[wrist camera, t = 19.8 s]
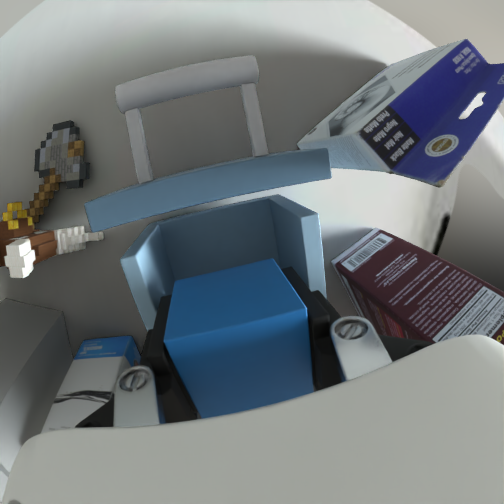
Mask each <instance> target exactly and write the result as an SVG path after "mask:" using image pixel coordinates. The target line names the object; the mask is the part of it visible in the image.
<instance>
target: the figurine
mask: <svg viewBox="0 0 504 504" xmlns="http://www.w3.org/2000/svg"><path fill="white" fill-rule="evenodd" d="M78 137H79V128H78V127H74V122H73V121H66V122H62V123H58V124H54V125H53V131H52V132H50V133H47V138H46V140H45V141H41V149H37V150H35V168H34V171H36V172H39V178H44V184H43V185H39V193H34V201H29V204H30V209H25V210H22V202H15V203H8V204H7V212H5V213H2V215H3V221H1V222H0V267H2V266H6V267H7V269H9V271H10V277H13V278H25V277H27V276H29V273H31V271H32V270H34V268H33V265H35V264H37V263H39V262H41V261H43V260H46V259H48V258H50V257H53V256H55V255H60V254H62V253H71V252H73V251H78V250H83V249H85V248H86V243H85V242H86V241H98V240H103V239H104V232H95V233H92V232H85V230H84V226H74V227H68V228H62V229H56V230H42V231H40V229H35V225H34V223H36V222H39V215H42V214H44V211H43V207H48V199H53V198H54V193H53V191H57V190H59V183H60V182H67V189H73V188H82V187H83V180H84V179H89V164H90V163H83V155H84V141H82V140H79V141H78ZM12 211H17V218H16V219H13V213H12Z"/></svg>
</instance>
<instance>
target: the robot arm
mask: <svg viewBox="0 0 504 504" xmlns="http://www.w3.org/2000/svg"><path fill="white" fill-rule="evenodd" d="M281 271H282V272H283V274H284V275H285V277H286V278H287V280H288V281H289V283H290V284H291V285H292V287H293V288H294V290H295V291H296V293H297V294H298V296H299V297H300V299H301V300H302V302H303V303H304V305H305V306H306V308H307V315H308V326H309V338H310V350H311V362H312V376H313V385H314V386H315V388H316V390H317V391H316V392H313V393H310V394H307V395H303V396H300V397H297V398H293V399H290V400H286V401H283V402H279V403H275V404H271V405H267V406H263V407H259V408H255V409H251V410H246V411H242V412H237V413H232V414H227V415H221V416H216V417H210V418H204V419H197V412H198V410H197V409H196V407H195V405H194V403H193V401H192V399H191V397H190V395H189V393H188V392H187V390H186V388H185V386H184V384H183V382H182V380H181V378H180V376H179V373H178V371H177V369H176V367H175V365H174V363H173V361H172V359H171V357H170V355H169V352H168V350H167V348H166V346H165V343H164V336H165V330H166V324H167V319H168V313H169V308H170V303H171V298H172V294H171V295H167V296H162V297H161V299H160V303H159V307H158V310H157V314H156V318H155V322H154V326H153V329H150V330H148V332H147V336H146V340H145V344H144V348H143V352H142V356H141V360H140V364H139V365H137V366H133V367H130V368H128V369H126V370H124V371H123V372H122V373H121V374H120V375H119V376H118V377H117V379H116V382H115V393H114V397H113V398H112V399H111V400H109V401H108V402H107V403H105V404H104V405H103V406H101V407H100V408H99V409H97V410H96V411H94V412H93V413H92V414H90V415H89V416H88V417H86V418H85V419H83V420H82V421H81V422H79V423H78V424H77V425H76V426H75V428H65V429H57V430H51V431H47V432H44V433H41V434H38V435H36V436H33V437H32V438H30V439H28V440H27V441H26V442H25V443H24V444H23V446H22V447H21V449H20V451H19V453H18V455H17V457H16V459H15V461H14V463H13V466H12V469H11V471H10V474H9V477H8V480H7V484H6V487H5V491H4V494H3V499H2V503H1V504H504V345H502V344H501V343H499V342H498V341H496V340H494V339H492V338H490V337H487V336H484V335H465V336H459V337H454V338H450V339H447V340H444V341H440V342H438V343H435V344H433V343H431V342H428V341H422V340H414V339H407V338H400V337H393V336H386V335H379V334H377V333H376V331H375V329H374V327H373V326H372V324H371V323H370V322H369V321H368V320H367V319H365V318H363V317H359V316H346V317H343V318H342V317H341V316H340V315H339V314H338V312H337V311H336V310H335V309H334V308H333V306H332V305H331V304H330V303H329V302H328V300H327V299H326V298H325V297H324V296H323V294H322V293H321V292H320V291H319V290H316V291H312V292H311V290H310V289H309V288H308V286H307V285H306V284H305V283H304V281H303V280H302V279H301V278H300V276H299V275H298V274H297V272H296V271H295V270H294V269H293V267H292V266H291V267H287V268H283V269H281Z"/></svg>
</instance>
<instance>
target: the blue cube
mask: <svg viewBox="0 0 504 504" xmlns="http://www.w3.org/2000/svg"><path fill="white" fill-rule="evenodd" d="M164 343H165V346H166V348H167V350H168V352H169V355H170V357H171V359H172V361H173V363H174V365H175V367H176V369H177V371H178V373H179V376H180V378H181V380H182V382H183V384H184V386H185V388H186V390H187V392H188V393H189V395H190V397H191V399H192V401H193V403H194V405H195V407H196V409H197V410H198V412H199V414H200V416H201V418H202V419H204V418H210V417H216V416H221V415H227V414H232V413H237V412H242V411H246V410H251V409H255V408H259V407H263V406H267V405H271V404H275V403H279V402H283V401H286V400H290V399H293V398H297V397H300V396H303V395H307V394H310V393H313V392H314V388H313V376H312V362H311V350H310V338H309V326H308V315H307V308H306V306H305V305H304V303H303V302H302V300H301V299H300V297H299V296H298V294H297V293H296V291H295V290H294V288H293V287H292V285H291V284H290V283H289V281H288V280H287V278H286V277H285V275H284V274H283V272H282V271H281V269H280V268H279V266H278V265H277V264H276V262H275V261H274V259H273V258H271V259H267V260H263V261H258V262H254V263H250V264H246V265H241V266H237V267H233V268H229V269H224V270H220V271H216V272H212V273H207V274H203V275H199V276H194V277H190V278H186V279H181V280H177V281H175V283H174V288H173V293H172V298H171V303H170V308H169V313H168V319H167V324H166V330H165V336H164Z"/></svg>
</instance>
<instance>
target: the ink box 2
mask: <svg viewBox="0 0 504 504" xmlns="http://www.w3.org/2000/svg"><path fill="white" fill-rule="evenodd" d="M482 92H485V93H486V94H485V95H484V97H483V98H482V101H483V105H481V106H480V107H477V108H475V109H474V110H473V111H472V113H471V114H470V115H469V117H467V118H466V119H459V117H460V116H461V115H462V113H463V112H464V111H465V110H466V109H467V107H468V106H469V105H470V104H471V102H472V101H473V100H474V98H475V97H476V96H477V95H478V94H479V93H482ZM503 100H504V63H502V64H488V63H487V62H486V60H485V59H484V58H483V57H482V55H481V54H480V53H479V52H478V51H477V49H476V48H475V47H474V46H473V45H472V44H471V43H470V41H469V40H468V39H464V40H461V41H457V42H454V43H450V44H447V45H444V46H441V47H438V48H435V49H432V50H429V51H426V52H423V53H420V54H418V55H415V56H413V57H410V58H407V59H405V60H402V61H399V62H397V63H394V64H391V65H389V66H388V67H386V68H385V69H384V70H382V71H381V72H380V73H378V74H377V75H376V76H375V77H373V78H372V79H371V80H370V81H368V82H367V83H366V84H365V85H364V86H363V87H361V88H360V89H359V90H358V91H357V92H356V93H354V94H353V95H352V96H351V97H349V98H348V99H347V100H346V101H345V102H343V103H342V104H341V105H340V106H339V107H338V108H336V109H335V110H334V111H333V112H332V113H331V114H329V115H328V116H327V117H326V118H325V119H323V120H322V121H321V122H320V123H319V124H317V125H316V126H315V127H314V128H313V129H312V130H311V131H310V132H309V133H307V134H306V135H305V136H304V137H303V138H302V139H301V140H300V141H299V142H298V143H297V146H298V147H299V148H300V150H304V149H317V148H327V149H328V153H329V159H330V166H331V168H342V169H357V170H370V171H381V172H386V173H389V174H396V175H400V176H404V177H408V178H411V179H415V180H418V181H421V182H424V183H428V184H430V185H433V186H436V187H443V186H444V184H445V183H446V181H447V180H448V179H449V177H450V176H451V175H452V173H453V172H454V171H455V169H456V168H457V167H458V165H459V164H460V163H461V161H462V160H463V159H464V157H465V156H466V155H467V153H468V152H469V150H470V149H471V147H472V146H473V144H474V143H475V141H476V140H477V138H478V137H479V136H480V135H481V133H482V132H483V130H484V129H485V127H486V126H487V124H488V123H489V121H490V120H491V118H492V117H493V116H494V114H495V113H496V111H497V110H498V108H499V107H500V105H501V103H502V102H503Z"/></svg>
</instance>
